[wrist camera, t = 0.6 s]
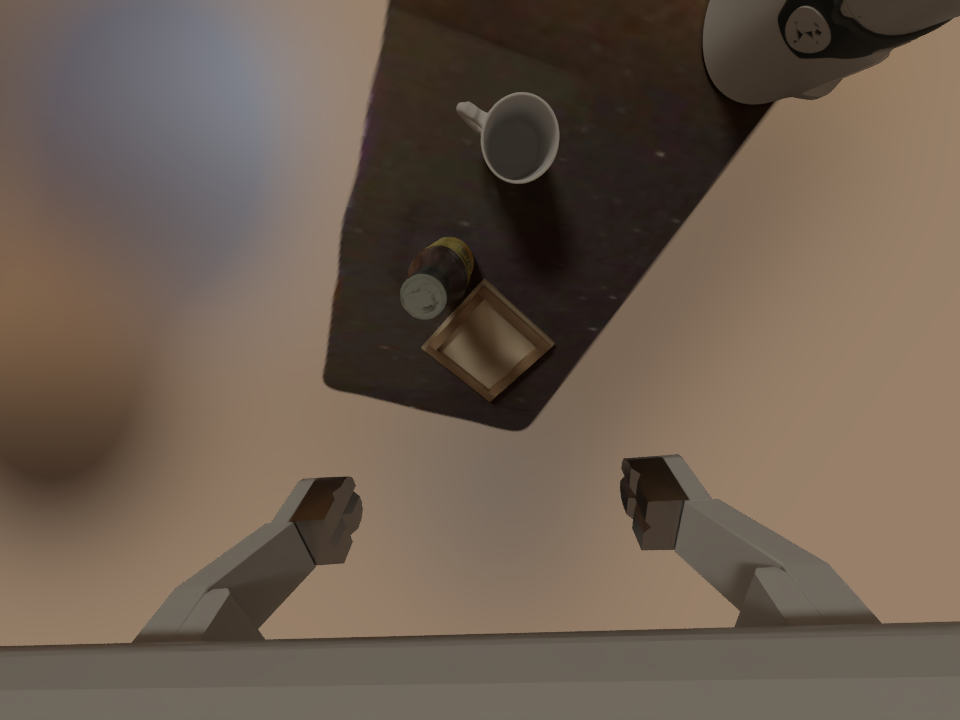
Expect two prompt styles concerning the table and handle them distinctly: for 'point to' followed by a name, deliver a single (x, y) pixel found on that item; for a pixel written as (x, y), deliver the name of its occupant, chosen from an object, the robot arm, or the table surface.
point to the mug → (515, 136)
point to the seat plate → (487, 341)
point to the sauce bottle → (437, 278)
